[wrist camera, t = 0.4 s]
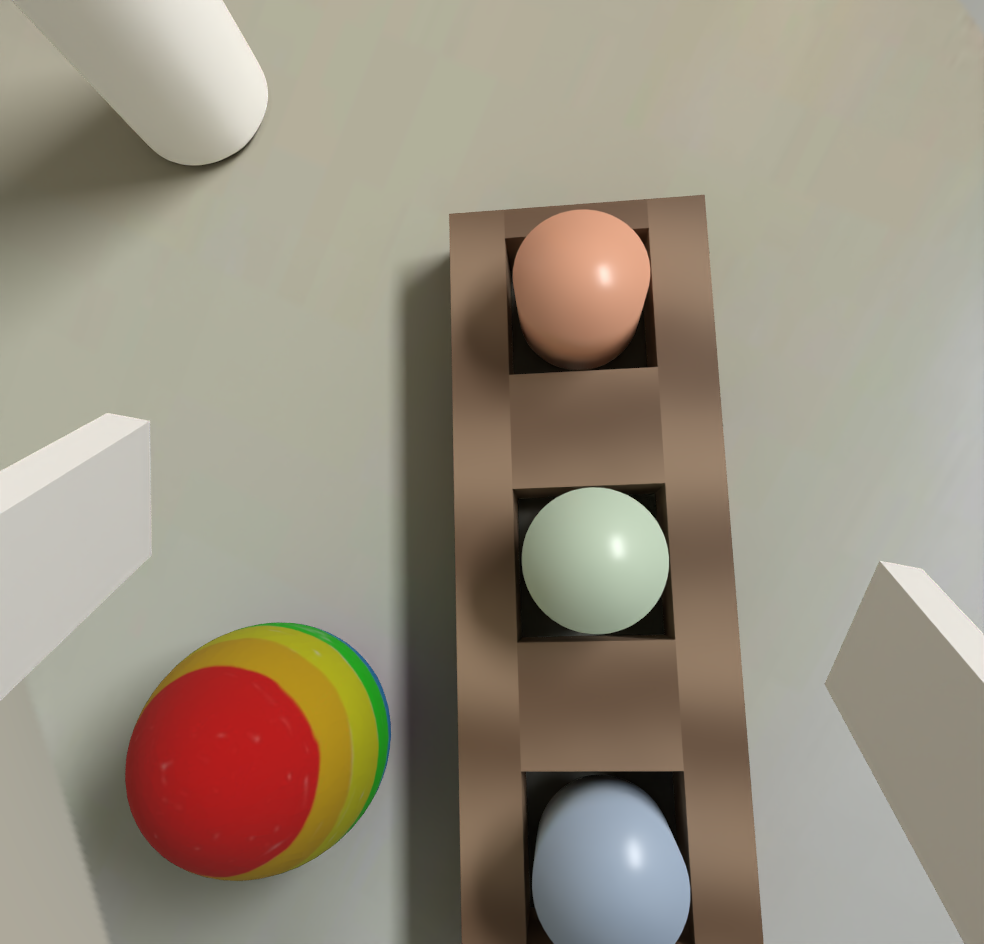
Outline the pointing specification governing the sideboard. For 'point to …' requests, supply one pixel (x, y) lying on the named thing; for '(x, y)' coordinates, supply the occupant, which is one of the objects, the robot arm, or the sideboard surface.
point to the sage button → (595, 560)
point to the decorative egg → (258, 752)
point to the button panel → (596, 659)
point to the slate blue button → (608, 867)
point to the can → (163, 70)
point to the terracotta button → (580, 288)
